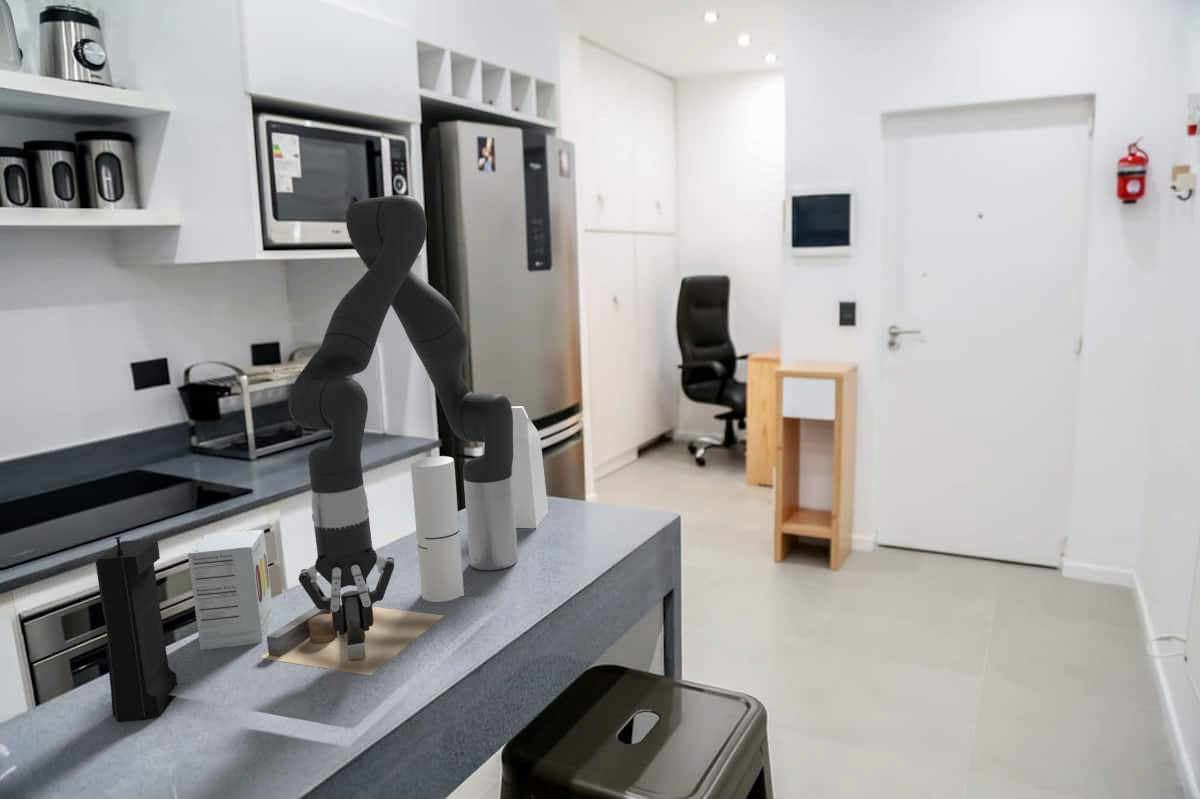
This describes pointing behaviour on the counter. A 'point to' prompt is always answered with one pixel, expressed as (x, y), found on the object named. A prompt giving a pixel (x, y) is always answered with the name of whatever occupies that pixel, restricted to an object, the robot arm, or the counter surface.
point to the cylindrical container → (437, 528)
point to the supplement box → (231, 589)
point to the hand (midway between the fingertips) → (354, 630)
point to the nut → (322, 629)
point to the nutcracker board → (380, 643)
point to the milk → (527, 472)
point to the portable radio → (134, 631)
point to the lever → (353, 624)
